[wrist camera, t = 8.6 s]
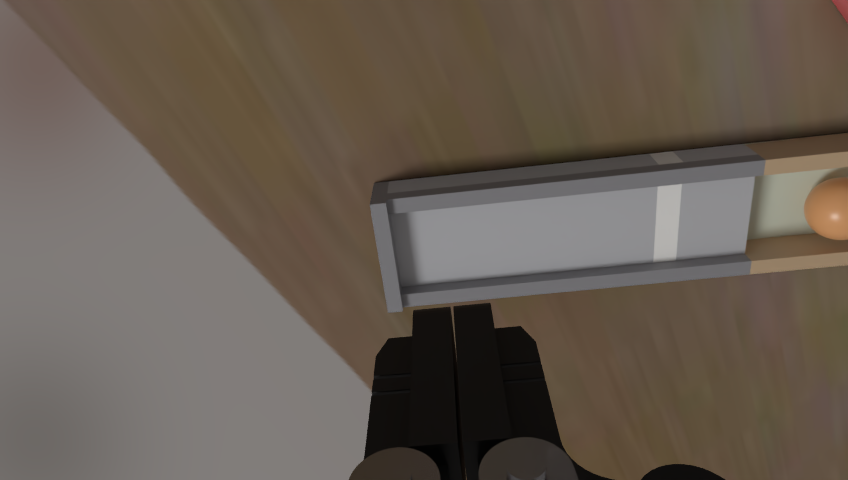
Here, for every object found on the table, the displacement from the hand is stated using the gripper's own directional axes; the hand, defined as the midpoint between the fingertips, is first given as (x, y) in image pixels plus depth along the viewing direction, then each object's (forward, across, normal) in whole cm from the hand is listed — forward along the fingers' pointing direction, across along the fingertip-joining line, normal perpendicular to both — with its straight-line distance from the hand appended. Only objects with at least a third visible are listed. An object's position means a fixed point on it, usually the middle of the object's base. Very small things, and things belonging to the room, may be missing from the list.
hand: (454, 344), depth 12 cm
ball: (+27, -25, +12) cm, 38 cm away
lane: (+29, -13, +12) cm, 34 cm away
